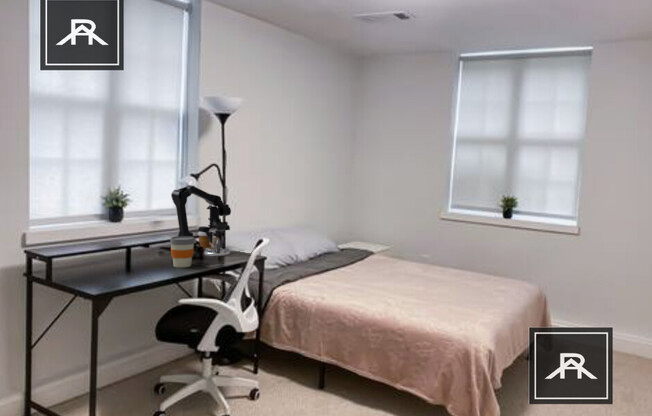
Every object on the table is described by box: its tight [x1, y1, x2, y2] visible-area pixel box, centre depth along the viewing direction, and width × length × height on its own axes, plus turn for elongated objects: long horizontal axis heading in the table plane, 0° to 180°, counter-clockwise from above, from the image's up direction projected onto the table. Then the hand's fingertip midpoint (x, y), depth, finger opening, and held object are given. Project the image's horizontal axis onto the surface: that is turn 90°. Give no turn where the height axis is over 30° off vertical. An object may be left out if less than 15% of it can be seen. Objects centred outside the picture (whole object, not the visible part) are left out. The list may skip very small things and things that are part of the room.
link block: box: [210, 236, 219, 246], centre depth 313 cm, size 4×4×4 cm
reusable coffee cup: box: [169, 235, 195, 268], centre depth 281 cm, size 12×12×15 cm
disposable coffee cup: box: [197, 230, 215, 251], centre depth 326 cm, size 10×10×12 cm
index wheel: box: [204, 239, 231, 257], centre depth 311 cm, size 15×15×10 cm
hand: (214, 242), depth 314 cm, fingers closed on link block, 4 cm apart
